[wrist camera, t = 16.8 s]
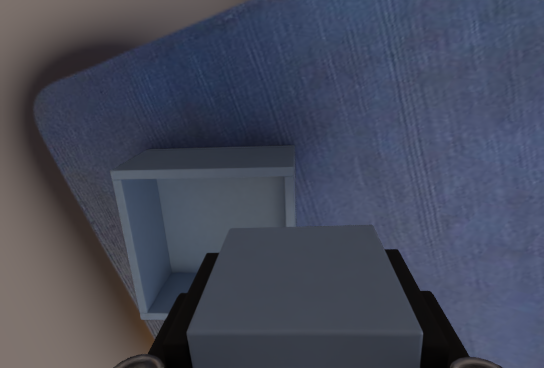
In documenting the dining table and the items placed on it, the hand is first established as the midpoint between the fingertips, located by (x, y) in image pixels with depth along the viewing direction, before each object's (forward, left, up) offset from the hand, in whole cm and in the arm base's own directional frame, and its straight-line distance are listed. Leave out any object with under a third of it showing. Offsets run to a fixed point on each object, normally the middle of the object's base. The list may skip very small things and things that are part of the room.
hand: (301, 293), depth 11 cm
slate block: (0, 0, 0) cm, 0 cm away
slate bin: (+4, -6, -15) cm, 17 cm away
